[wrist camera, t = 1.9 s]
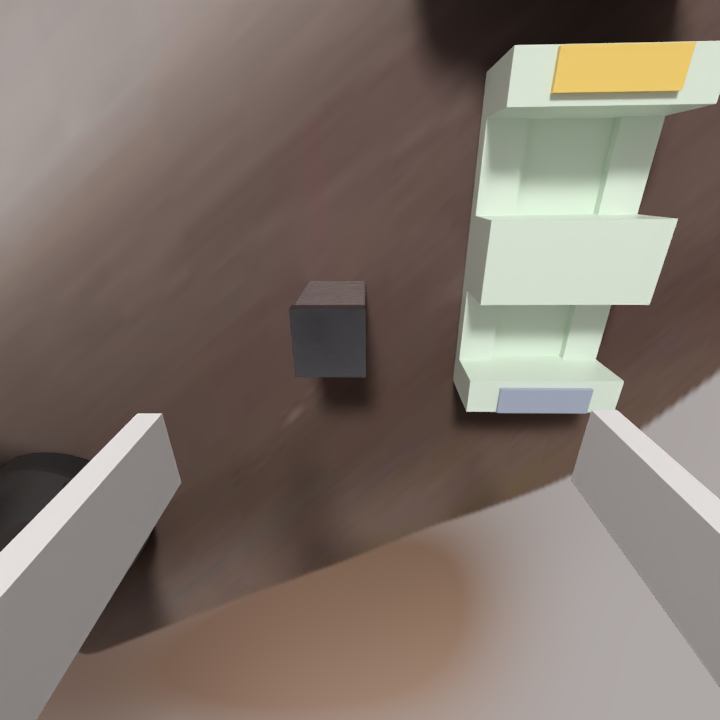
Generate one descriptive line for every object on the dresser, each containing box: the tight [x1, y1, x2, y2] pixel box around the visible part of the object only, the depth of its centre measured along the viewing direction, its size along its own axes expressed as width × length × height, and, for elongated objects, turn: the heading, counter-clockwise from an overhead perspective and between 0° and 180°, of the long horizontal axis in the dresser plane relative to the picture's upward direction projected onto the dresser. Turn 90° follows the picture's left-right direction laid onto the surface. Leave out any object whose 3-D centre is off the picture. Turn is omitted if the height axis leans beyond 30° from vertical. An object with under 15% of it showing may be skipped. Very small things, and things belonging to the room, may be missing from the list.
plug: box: [289, 281, 366, 377], centre depth 24 cm, size 4×4×7 cm
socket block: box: [453, 41, 720, 413], centre depth 23 cm, size 10×20×5 cm, turn 1°
